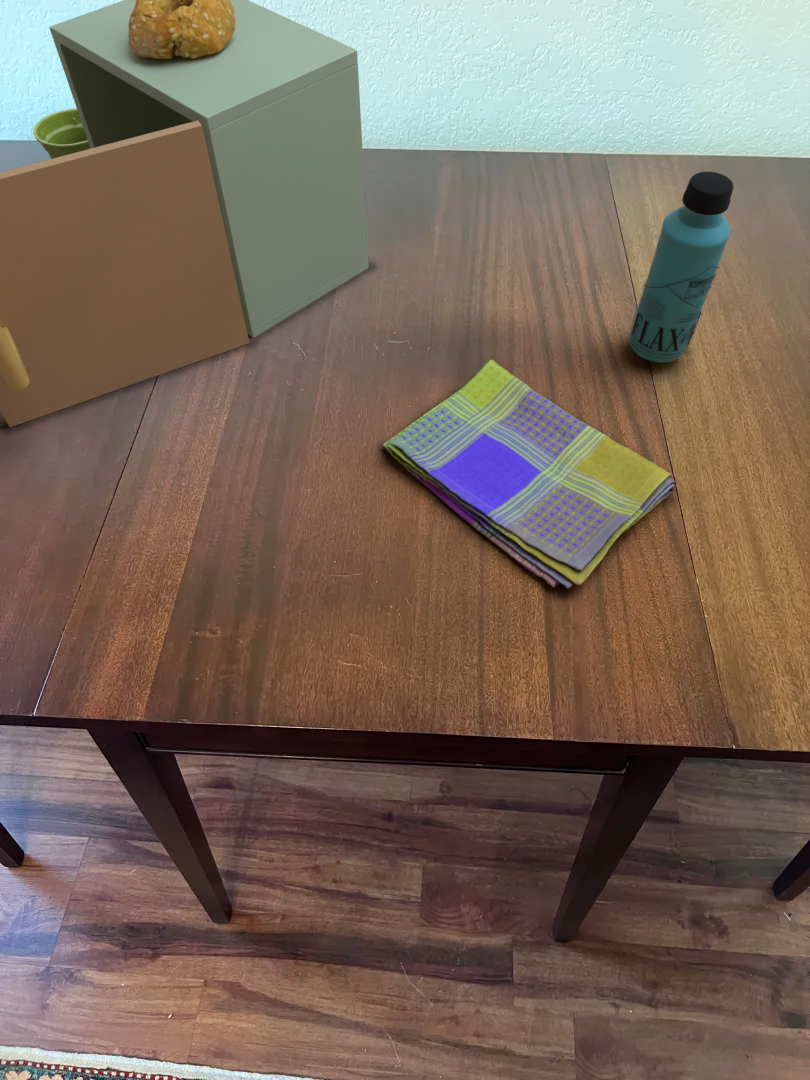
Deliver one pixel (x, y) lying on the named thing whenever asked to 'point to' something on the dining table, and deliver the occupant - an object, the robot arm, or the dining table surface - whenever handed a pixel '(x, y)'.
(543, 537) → the dish towel
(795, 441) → the dining table surface
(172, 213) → the cupboard door
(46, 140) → the plant pot
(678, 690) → the dining table surface
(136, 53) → the bagel
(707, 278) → the beverage bottle
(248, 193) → the cupboard
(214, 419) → the dining table surface
